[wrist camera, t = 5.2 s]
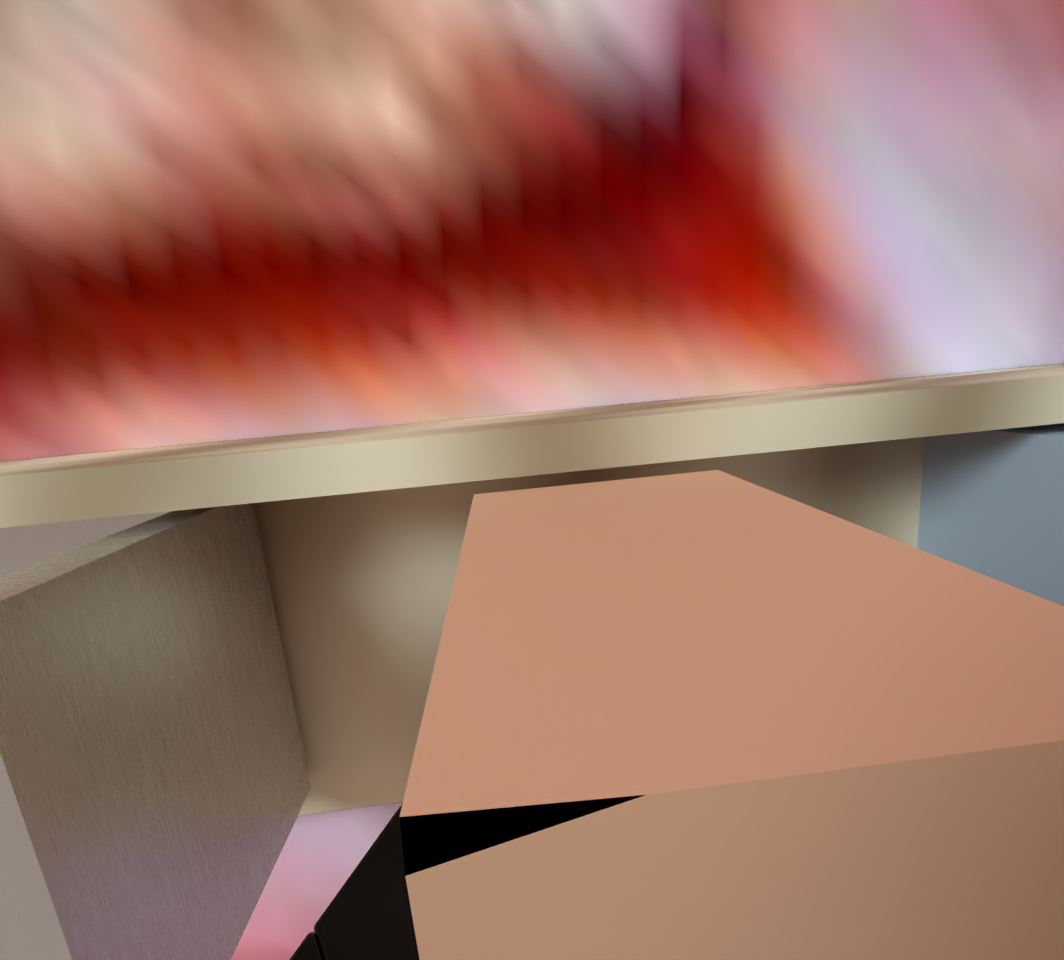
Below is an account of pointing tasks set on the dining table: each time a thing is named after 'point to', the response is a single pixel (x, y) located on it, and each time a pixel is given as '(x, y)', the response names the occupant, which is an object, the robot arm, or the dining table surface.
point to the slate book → (998, 505)
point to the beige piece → (484, 467)
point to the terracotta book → (732, 739)
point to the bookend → (140, 736)
